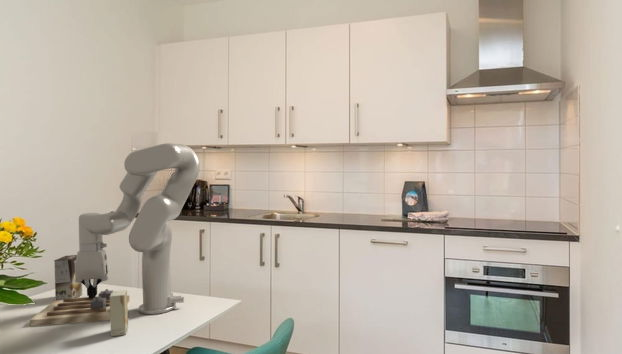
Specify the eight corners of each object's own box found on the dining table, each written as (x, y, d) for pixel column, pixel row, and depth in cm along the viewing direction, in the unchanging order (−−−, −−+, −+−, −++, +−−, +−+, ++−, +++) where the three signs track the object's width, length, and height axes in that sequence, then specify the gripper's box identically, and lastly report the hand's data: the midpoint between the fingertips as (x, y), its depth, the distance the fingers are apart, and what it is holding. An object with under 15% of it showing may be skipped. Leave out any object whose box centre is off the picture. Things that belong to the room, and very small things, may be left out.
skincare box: (126, 335, 130) (124, 295, 130) (110, 337, 129) (109, 296, 128) (128, 327, 136) (127, 289, 136) (113, 329, 135) (112, 290, 135)
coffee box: (72, 301, 163) (71, 259, 163) (55, 302, 163) (53, 260, 162) (82, 294, 172) (81, 254, 172) (66, 295, 172) (64, 255, 171)
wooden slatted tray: (129, 300, 163) (129, 292, 163) (115, 319, 143) (115, 310, 143) (54, 306, 158) (54, 298, 158) (30, 326, 139) (29, 317, 138)
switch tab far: (113, 298, 159) (112, 288, 159) (110, 301, 155) (110, 291, 155) (101, 299, 158) (101, 289, 158) (98, 302, 155) (98, 292, 155)
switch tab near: (106, 306, 150) (105, 296, 150) (103, 309, 147) (102, 299, 146) (93, 307, 149) (93, 296, 149) (90, 310, 146) (90, 300, 146)
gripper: (115, 244, 160) (116, 293, 161) (72, 246, 158) (73, 295, 158) (110, 248, 153) (111, 299, 154) (64, 250, 150) (66, 302, 151)
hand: (92, 297), depth 156 cm, fingers closed
